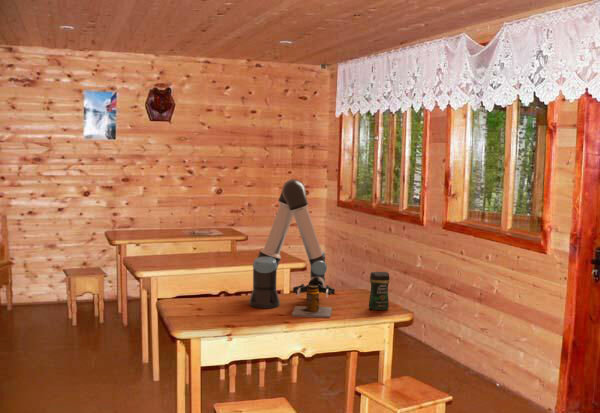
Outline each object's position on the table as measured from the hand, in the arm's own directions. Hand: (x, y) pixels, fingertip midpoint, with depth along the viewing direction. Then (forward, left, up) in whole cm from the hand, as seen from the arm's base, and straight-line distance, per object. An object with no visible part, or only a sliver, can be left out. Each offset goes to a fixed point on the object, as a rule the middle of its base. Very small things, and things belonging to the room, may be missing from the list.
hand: (312, 294), depth 308 cm
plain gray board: (0, +2, -9) cm, 10 cm away
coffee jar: (+32, +15, -10) cm, 37 cm away
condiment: (-1, +2, -9) cm, 9 cm away
